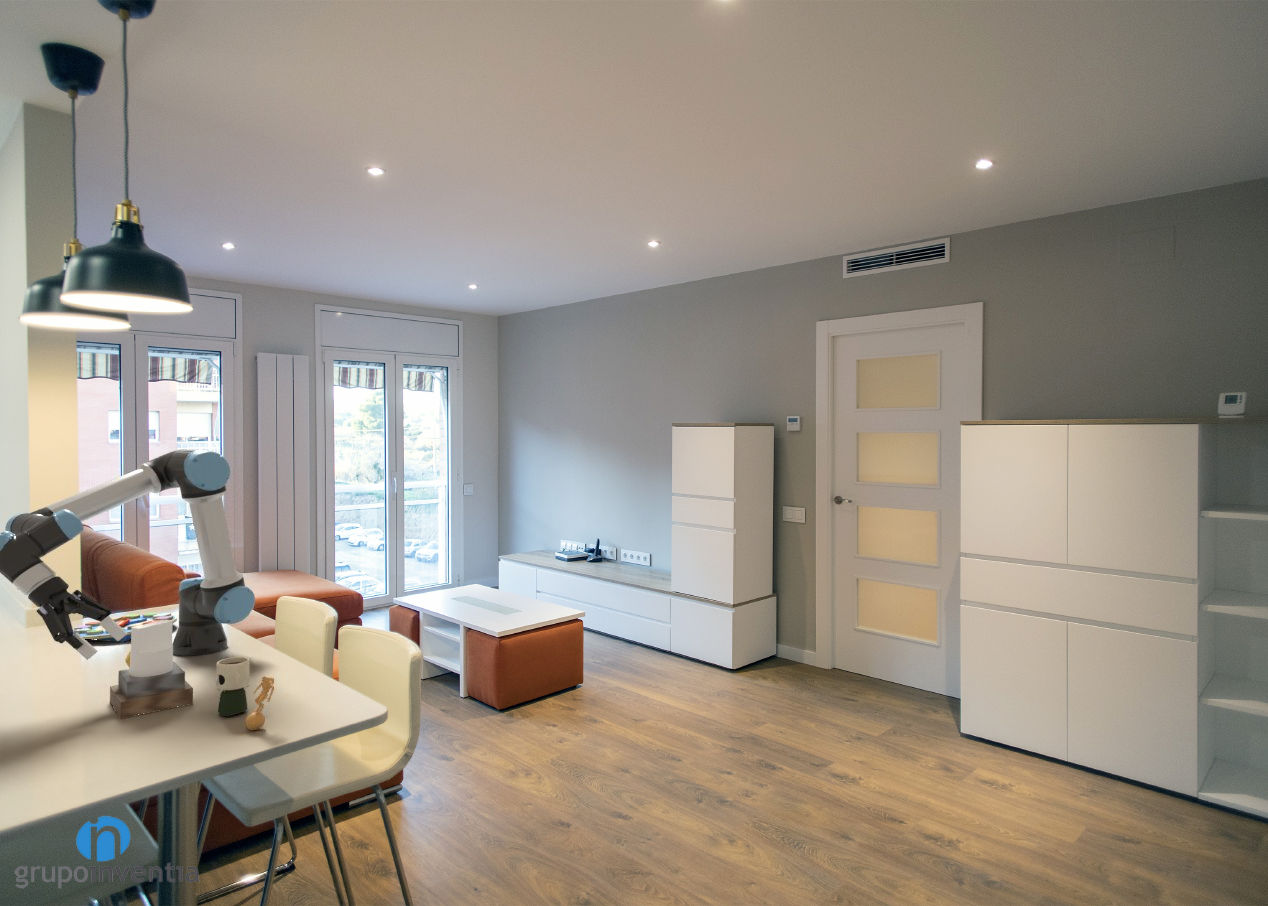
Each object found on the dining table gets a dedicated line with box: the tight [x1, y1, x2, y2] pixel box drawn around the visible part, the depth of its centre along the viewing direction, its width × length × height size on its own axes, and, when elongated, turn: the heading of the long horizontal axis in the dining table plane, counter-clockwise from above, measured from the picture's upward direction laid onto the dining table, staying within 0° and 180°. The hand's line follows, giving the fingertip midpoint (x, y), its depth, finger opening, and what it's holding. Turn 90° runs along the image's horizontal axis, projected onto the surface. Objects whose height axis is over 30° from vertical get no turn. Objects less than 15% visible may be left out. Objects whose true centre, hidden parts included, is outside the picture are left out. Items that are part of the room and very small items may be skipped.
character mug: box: [215, 656, 251, 717], centre depth 174 cm, size 11×7×13 cm, turn 39°
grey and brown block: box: [109, 660, 194, 720], centre depth 180 cm, size 15×15×8 cm
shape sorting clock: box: [73, 612, 178, 643], centre depth 245 cm, size 31×30×6 cm
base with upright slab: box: [129, 620, 174, 677], centre depth 180 cm, size 9×9×12 cm
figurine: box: [244, 675, 275, 731], centre depth 165 cm, size 8×6×12 cm
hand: (108, 646), depth 178 cm, fingers open, 13 cm apart
